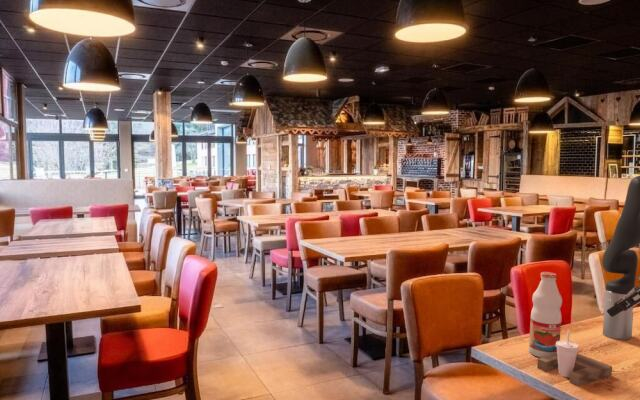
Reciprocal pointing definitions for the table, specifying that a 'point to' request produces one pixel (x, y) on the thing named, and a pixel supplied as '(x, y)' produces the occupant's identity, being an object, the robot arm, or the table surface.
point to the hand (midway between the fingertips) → (612, 310)
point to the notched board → (579, 369)
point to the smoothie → (566, 356)
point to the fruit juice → (545, 317)
